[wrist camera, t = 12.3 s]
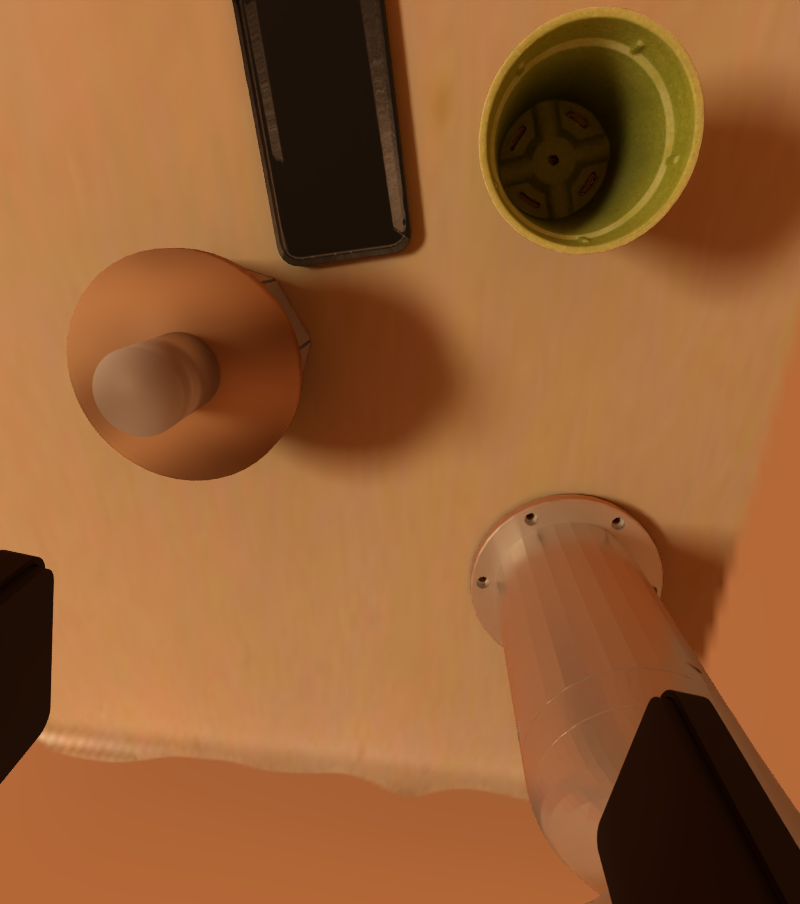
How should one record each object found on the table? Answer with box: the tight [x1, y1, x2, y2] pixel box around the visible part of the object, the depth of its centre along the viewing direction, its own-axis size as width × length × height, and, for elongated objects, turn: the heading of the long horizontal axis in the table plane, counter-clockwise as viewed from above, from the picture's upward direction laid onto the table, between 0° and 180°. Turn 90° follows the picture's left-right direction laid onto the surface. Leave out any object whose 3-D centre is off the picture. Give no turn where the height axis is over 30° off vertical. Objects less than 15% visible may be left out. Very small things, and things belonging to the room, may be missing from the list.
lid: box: [67, 248, 303, 480], centre depth 30 cm, size 12×12×6 cm
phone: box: [232, 0, 411, 266], centre depth 34 cm, size 8×1×15 cm
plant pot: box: [479, 6, 704, 255], centre depth 30 cm, size 9×9×9 cm
